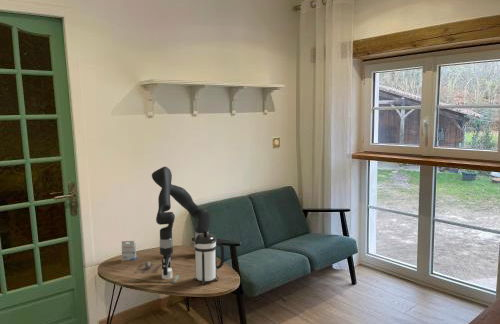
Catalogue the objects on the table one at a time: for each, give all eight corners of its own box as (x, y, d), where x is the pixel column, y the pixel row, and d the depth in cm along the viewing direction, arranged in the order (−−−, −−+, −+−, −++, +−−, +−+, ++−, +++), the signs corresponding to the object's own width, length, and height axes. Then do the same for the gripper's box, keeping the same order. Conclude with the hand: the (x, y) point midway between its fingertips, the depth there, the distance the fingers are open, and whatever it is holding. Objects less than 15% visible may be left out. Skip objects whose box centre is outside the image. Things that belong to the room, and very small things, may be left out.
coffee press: (216, 286, 211) (215, 235, 208) (189, 284, 215) (188, 233, 211) (224, 274, 228) (223, 226, 225) (199, 272, 231) (198, 225, 228)
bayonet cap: (163, 276, 224) (162, 267, 224) (173, 276, 224) (172, 267, 224) (160, 280, 218) (160, 271, 218) (171, 280, 218) (170, 271, 218)
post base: (161, 266, 241) (161, 258, 241) (156, 275, 227) (156, 266, 227) (140, 266, 241) (139, 258, 240) (133, 275, 227) (133, 266, 227)
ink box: (136, 259, 254) (135, 238, 252) (135, 262, 249) (134, 240, 247) (123, 259, 253) (122, 238, 251) (122, 262, 248) (121, 241, 247)
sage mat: (178, 275, 226) (178, 275, 226) (175, 283, 216) (175, 282, 216) (159, 276, 226) (159, 275, 226) (155, 283, 216) (155, 282, 216)
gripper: (162, 241, 226) (163, 267, 228) (156, 249, 212) (157, 277, 214) (175, 241, 226) (175, 267, 228) (170, 249, 212) (170, 277, 214)
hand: (167, 272), depth 221 cm, fingers open, 8 cm apart
